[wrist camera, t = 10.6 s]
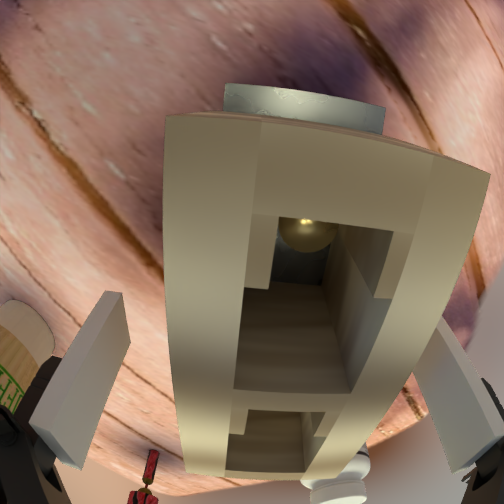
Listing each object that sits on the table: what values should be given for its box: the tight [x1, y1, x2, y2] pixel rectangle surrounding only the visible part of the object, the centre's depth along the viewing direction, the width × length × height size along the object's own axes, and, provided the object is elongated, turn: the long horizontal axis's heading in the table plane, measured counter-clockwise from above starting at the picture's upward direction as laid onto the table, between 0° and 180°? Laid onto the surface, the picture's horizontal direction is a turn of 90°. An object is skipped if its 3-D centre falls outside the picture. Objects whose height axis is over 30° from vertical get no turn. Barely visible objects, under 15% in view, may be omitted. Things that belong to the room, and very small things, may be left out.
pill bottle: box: [300, 442, 370, 504], centre depth 20 cm, size 5×5×10 cm
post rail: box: [223, 83, 386, 286], centre depth 15 cm, size 16×7×6 cm, turn 174°
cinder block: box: [163, 111, 491, 480], centre depth 13 cm, size 16×8×7 cm, turn 174°
